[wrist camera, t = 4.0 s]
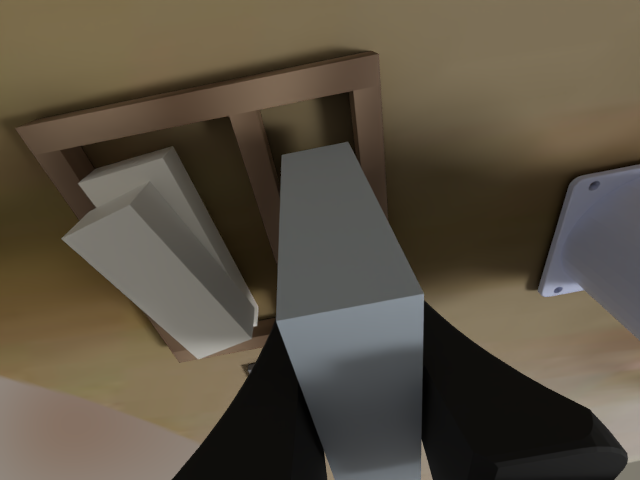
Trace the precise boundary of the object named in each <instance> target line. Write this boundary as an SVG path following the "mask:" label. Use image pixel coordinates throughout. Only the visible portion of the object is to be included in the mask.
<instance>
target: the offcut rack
mask: <svg viewBox="0 0 640 480" xmlns="http://www.w3.org/2000/svg"><path fill="white" fill-rule="evenodd" d="M345 92H349V99H350V108H351V117H352V126H353V135H354V144H355V153H356V158H357V160H358V162H359V164H360V166H361V168H362V170H363V172H364V174H365V176H366V178H367V180H368V182H369V184H370V186H371V188H372V190H373V192H374V194H375V196H376V198H377V200H378V202H379V204H380V206H381V208H382V210H383V212H384V214H385V216H386V218H387V220H388V206H387V188H386V171H385V153H384V136H383V119H382V101H381V84H380V66H379V54H378V53H375V52H373V51H368V52H363V53H358V54H353V55H349V56H344V57H339V58H334V59H329V60H324V61H319V62H314V63H310V64H305V65H300V66H295V67H290V68H285V69H280V70H275V71H270V72H266V73H261V74H256V75H251V76H246V77H241V78H236V79H231V80H227V81H222V82H217V83H212V84H207V85H202V86H197V87H192V88H187V89H183V90H178V91H173V92H168V93H163V94H158V95H153V96H148V97H143V98H139V99H134V100H129V101H124V102H119V103H114V104H109V105H104V106H100V107H95V108H90V109H85V110H80V111H75V112H70V113H65V114H60V115H56V116H51V117H46V118H41V119H36V120H34V121H31V122H29V123H26V124H24V125H21V126H19V127H17V128H15V129H16V131H17V132H18V134H19V135H20V137H21V138H22V139H23V141H24V142H25V144H26V145H27V147H28V148H29V149H30V151H31V152H32V154H33V155H34V156H35V158H36V159H37V161H38V162H39V164H40V165H41V166H42V168H43V169H44V171H45V172H46V174H47V175H48V176H49V178H50V179H51V181H52V182H53V184H54V185H55V186H56V188H57V189H58V191H59V192H60V194H61V195H62V196H63V198H64V199H65V201H66V202H67V203H68V205H69V206H70V208H71V209H72V211H73V212H74V213H75V215H76V216H77V218H78V219H79V221H80V220H81V219H82V218H83V217H84V216H85V215H86V214H87V213H88V212H89V211H91V210H93V209H95V208H96V207H95V205H94V204H93V203H92V201H91V200H90V199H89V197H88V196H87V195H86V193H85V192H84V191H83V190H82V188H81V187H80V186H79V184H78V183H79V182H80V181H81V180H82V179H84V178H85V177H86V176H87V175H88V174H90V173H91V172H92V171H93V170H95V169H94V167H93V166H92V164H91V162H90V161H89V159H88V158H87V156H86V154H85V153H84V151H83V149H82V148H81V146H82V145H87V144H92V143H97V142H102V141H107V140H112V139H117V138H122V137H127V136H132V135H137V134H142V133H147V132H152V131H157V130H162V129H167V128H171V127H176V126H181V125H186V124H191V123H196V122H201V121H206V120H211V119H216V118H221V117H226V116H229V117H230V120H231V124H232V127H233V130H234V133H235V136H236V139H237V142H238V145H239V149H240V152H241V155H242V158H243V161H244V164H245V167H246V170H247V174H248V177H249V180H250V183H251V186H252V189H253V192H254V195H255V199H256V202H257V205H258V208H259V211H260V214H261V217H262V220H263V224H264V227H265V230H266V233H267V236H268V239H269V242H270V245H271V249H272V252H273V255H274V258H275V261H276V264H277V267H278V249H279V219H280V190H281V188H280V184H279V180H278V177H277V173H276V169H275V165H274V162H273V158H272V154H271V150H270V146H269V143H268V139H267V135H266V131H265V128H264V124H263V120H262V116H261V112H260V110H261V109H265V108H270V107H275V106H280V105H285V104H290V103H295V102H300V101H305V100H310V99H315V98H320V97H325V96H330V95H335V94H340V93H345ZM143 312H144V311H143ZM144 313H145V312H144ZM145 315H146V316H147V317H148V319H149V320H150V322H151V323H152V325H153V326H154V327H155V329H156V330H157V332H158V333H159V334H160V336H161V337H162V339H163V340H164V342H165V343H166V344H167V346H168V347H169V349H170V350H171V352H172V353H173V354H174V356H175V357H176V359H177V360H178V362H179V363H181V362H186V361H192V360H197V358H196V357H195V356H194V355H193V354H191V353H190V352H189V351H188V350H187V349H186V348H185V347H184V346H182V345H181V344H180V343H179V342H178V341H177V340H176V339H174V338H173V337H172V336H171V335H170V334H169V333H168V332H166V331H165V330H164V329H163V328H162V327H161V326H160V325H159V324H157V323H156V322H155V321H154V320H153V319H152V318H151V317H149V316H148V315H147V314H146V313H145ZM275 319H276V318H271V319H266V320H260V321H258V322H257V326H255V327H253V333H252V339H250V340H248V341H245V342H242V343H240V344H237V345H235V346H232V347H229V348H227V349H224V350H222V351H219V352H217V353H214V354H211V355H209V356H206V357H204V358H208V357H213V356H219V355H224V354H230V353H235V352H240V351H246V350H251V349H257V348H262V347H264V345H265V342H266V340H267V338H268V336H269V334H270V331H271V329H272V326H273V324H274V321H275ZM201 359H203V358H201Z"/></svg>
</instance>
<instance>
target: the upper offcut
mask: <svg viewBox="0 0 640 480" xmlns="http://www.w3.org/2000/svg"><path fill="white" fill-rule="evenodd" d="M61 239H62V240H63V241H64V242H65V243H67V244H68V245H69V246H70V247H71V248H72V249H73V250H74V251H76V252H77V253H78V254H79V255H80V256H81V257H82V258H84V259H85V260H86V261H87V262H88V263H89V264H90V265H92V266H93V267H94V268H95V269H96V270H97V271H98V272H99V273H101V274H102V275H103V276H104V277H105V278H106V279H107V280H109V281H110V282H111V283H112V284H113V285H114V286H115V287H116V288H118V289H119V290H120V291H121V292H122V293H123V294H124V295H126V296H127V297H128V298H129V299H130V300H131V301H132V302H134V303H135V304H136V305H137V306H138V307H139V308H140V309H141V310H143V311H144V312H145V313H146V314H147V315H148V316H149V317H151V318H152V319H153V320H154V321H155V322H156V323H157V324H159V325H160V326H161V327H162V328H163V329H164V330H165V331H166V332H168V333H169V334H170V335H171V336H172V337H173V338H174V339H176V340H177V341H178V342H179V343H180V344H181V345H182V346H184V347H185V348H186V349H187V350H188V351H189V352H190V353H191V354H193V355H194V356H195V357H196V358H197V359H201V358H204V357H206V356H209V355H211V354H214V353H217V352H219V351H222V350H224V349H227V348H229V347H232V346H235V345H237V344H240V343H242V342H245V341H248V340H250V339H252V333H253V324H254V314H255V307H254V306H253V305H252V304H251V302H250V301H249V300H248V299H247V298H246V296H245V295H244V294H243V293H242V292H241V290H240V289H239V288H238V287H237V286H236V284H235V283H234V282H233V281H232V280H231V278H230V277H229V276H228V275H227V274H226V272H225V271H224V270H223V269H222V268H221V266H220V265H219V264H218V263H217V261H216V260H215V259H214V258H213V257H212V255H211V254H210V253H209V252H208V251H207V249H206V248H205V247H204V246H203V245H202V243H201V242H200V241H199V240H198V239H197V237H196V236H195V235H194V234H193V233H192V231H191V230H190V229H189V228H188V227H187V225H186V224H185V223H184V222H183V220H182V219H181V218H180V217H179V216H178V214H177V213H176V212H175V211H174V210H173V208H172V207H171V206H170V205H169V204H168V202H167V201H166V200H165V199H164V198H163V196H162V195H161V194H160V193H159V192H158V190H157V189H156V188H155V187H154V186H153V184H152V183H151V182H150V181H149V182H147V183H145V184H143V185H141V186H139V187H137V188H135V189H133V190H131V191H129V192H127V193H125V194H123V195H121V196H119V197H117V198H115V199H113V200H111V201H109V202H107V203H105V204H103V205H101V206H99V207H98V208H95V209H93V210H91V211H89V212H88V213H87V214H86V215H85V216H84V217H83V218H82V219H81V220H80V221H79V222H78V223H77V224H76V225H75V226H74V227H73V228H72V229H71V230H70V231H69V232H68V233H66V234H65V235H64V236H63V237H62V238H61Z"/></svg>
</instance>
